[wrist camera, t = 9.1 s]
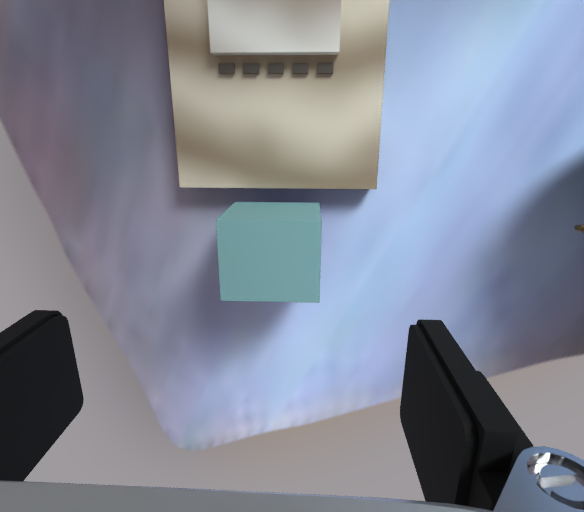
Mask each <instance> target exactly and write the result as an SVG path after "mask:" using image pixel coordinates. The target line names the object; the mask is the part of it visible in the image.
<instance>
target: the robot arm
mask: <svg viewBox="0 0 584 512" xmlns="http://www.w3.org/2000/svg"><path fill="white" fill-rule="evenodd" d="M82 405H83V394H82V389H81V384H80V378H79V373H78V368H77V364H76V358H75V353H74V348H73V344H72V338H71V333H70V328H69V323H68V320H67V318H66V317H65V316H62V314H61V313H60V312H59V311H46V310H35V311H33V312H31V313H29V314H28V315H26V316H25V317H23V318H22V319H20V320H19V321H17V322H16V323H14V324H13V325H11V326H10V327H8V328H7V329H5V330H4V331H2V332H1V333H0V512H584V460H582V459H580V458H578V457H576V456H574V455H572V454H570V453H567V452H564V451H562V450H559V449H555V448H550V447H545V446H542V447H534V446H533V445H532V443H531V442H530V440H529V439H528V438H527V436H526V435H525V433H524V432H523V431H522V429H521V428H520V426H519V425H518V424H517V422H516V421H515V419H514V418H513V416H512V415H511V413H510V412H509V411H508V409H507V408H506V406H505V405H504V403H503V402H502V401H501V399H500V398H499V396H498V395H497V393H496V392H495V391H494V389H493V388H492V386H491V385H490V384H489V382H488V381H487V379H486V378H485V376H484V375H483V374H482V373H481V372H479V371H476V370H475V369H474V367H473V366H472V364H471V363H470V361H469V360H468V359H467V357H466V356H465V354H464V353H463V351H462V350H461V348H460V347H459V345H458V344H457V342H456V341H455V340H454V338H453V337H452V335H451V334H450V332H449V331H448V329H447V328H446V326H445V325H444V323H443V322H442V321H441V320H418V321H417V324H416V325H410V328H409V335H408V343H407V352H406V361H405V370H404V379H403V388H402V397H401V406H400V417H401V423H402V426H403V430H404V433H405V436H406V439H407V442H408V446H409V449H410V452H411V455H412V459H413V462H414V465H415V468H416V472H417V475H418V478H419V481H420V484H421V488H422V491H423V494H424V497H425V501H414V500H402V499H390V498H376V497H356V496H354V497H353V496H336V495H315V494H295V493H275V492H254V491H231V490H211V489H187V488H165V487H143V486H142V487H141V486H119V485H97V484H96V485H95V484H73V483H72V484H71V483H48V482H26V481H24V479H25V478H26V477H27V476H28V475H29V473H30V472H31V471H32V470H33V468H34V467H35V466H36V465H37V463H38V462H39V461H40V460H41V459H42V457H43V456H44V455H45V453H46V452H47V451H48V450H49V449H50V447H51V446H52V445H53V444H54V443H55V441H56V440H57V439H58V438H59V436H60V435H61V434H62V433H63V432H64V430H65V429H66V427H68V425H69V424H70V423H71V422H72V420H73V419H74V418H75V417H76V416H77V414H78V413H79V412H80V410H81V408H82Z"/></svg>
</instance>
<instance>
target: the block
mask: <svg viewBox="0 0 584 512" xmlns="http://www.w3.org/2000/svg"><path fill="white" fill-rule="evenodd" d="M321 227H322V220H321V213H320V205H319V203H304V202H234V203H233V204H232V205H231V206H230V207H229V208H228V209H227V210H226V211H225V212H224V213H223V214H222V215H221V216H219V217H218V218H217V219H216V232H217V249H218V265H219V282H220V299H221V301H263V302H312V303H319V302H320V265H321Z"/></svg>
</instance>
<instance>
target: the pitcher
mask: <svg viewBox="0 0 584 512" xmlns="http://www.w3.org/2000/svg"><path fill="white" fill-rule="evenodd" d="M575 229H576V230H579V231H581V232H584V224H583V225H578V226H575Z"/></svg>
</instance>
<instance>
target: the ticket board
mask: <svg viewBox="0 0 584 512" xmlns="http://www.w3.org/2000/svg"><path fill="white" fill-rule="evenodd" d="M164 10H165V22H166V33H167V45H168V56H169V68H170V80H171V91H172V103H173V115H174V126H175V138H176V149H177V161H178V173H179V184H180V187H186V188H304V189H376V188H377V173H378V159H379V144H380V130H381V115H382V101H383V86H384V72H385V57H386V43H387V28H388V14H389V0H164Z"/></svg>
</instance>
